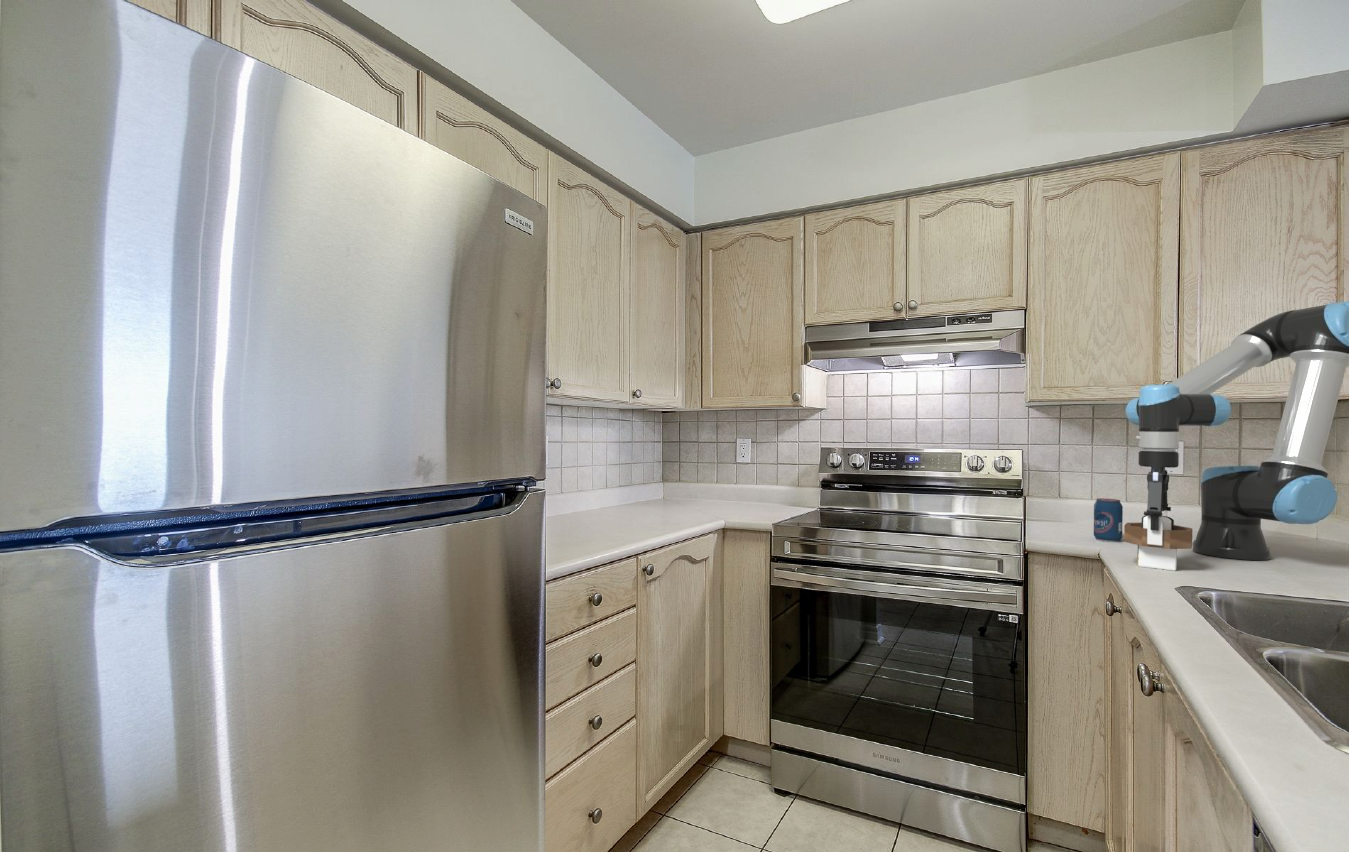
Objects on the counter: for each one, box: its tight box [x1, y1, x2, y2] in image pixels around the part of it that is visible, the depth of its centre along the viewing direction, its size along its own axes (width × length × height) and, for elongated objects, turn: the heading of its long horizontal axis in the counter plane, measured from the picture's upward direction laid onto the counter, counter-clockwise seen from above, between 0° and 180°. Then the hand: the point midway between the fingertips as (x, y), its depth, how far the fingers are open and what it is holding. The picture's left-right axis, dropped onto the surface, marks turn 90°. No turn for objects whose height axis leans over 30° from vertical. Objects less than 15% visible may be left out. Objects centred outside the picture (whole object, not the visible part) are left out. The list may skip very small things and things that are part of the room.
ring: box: [1123, 522, 1193, 550], centre depth 148 cm, size 12×12×4 cm
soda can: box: [1093, 497, 1124, 543], centre depth 184 cm, size 7×7×12 cm
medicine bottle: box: [1137, 515, 1178, 572], centre depth 148 cm, size 7×7×12 cm
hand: (1157, 541), depth 148 cm, fingers closed on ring, 12 cm apart
